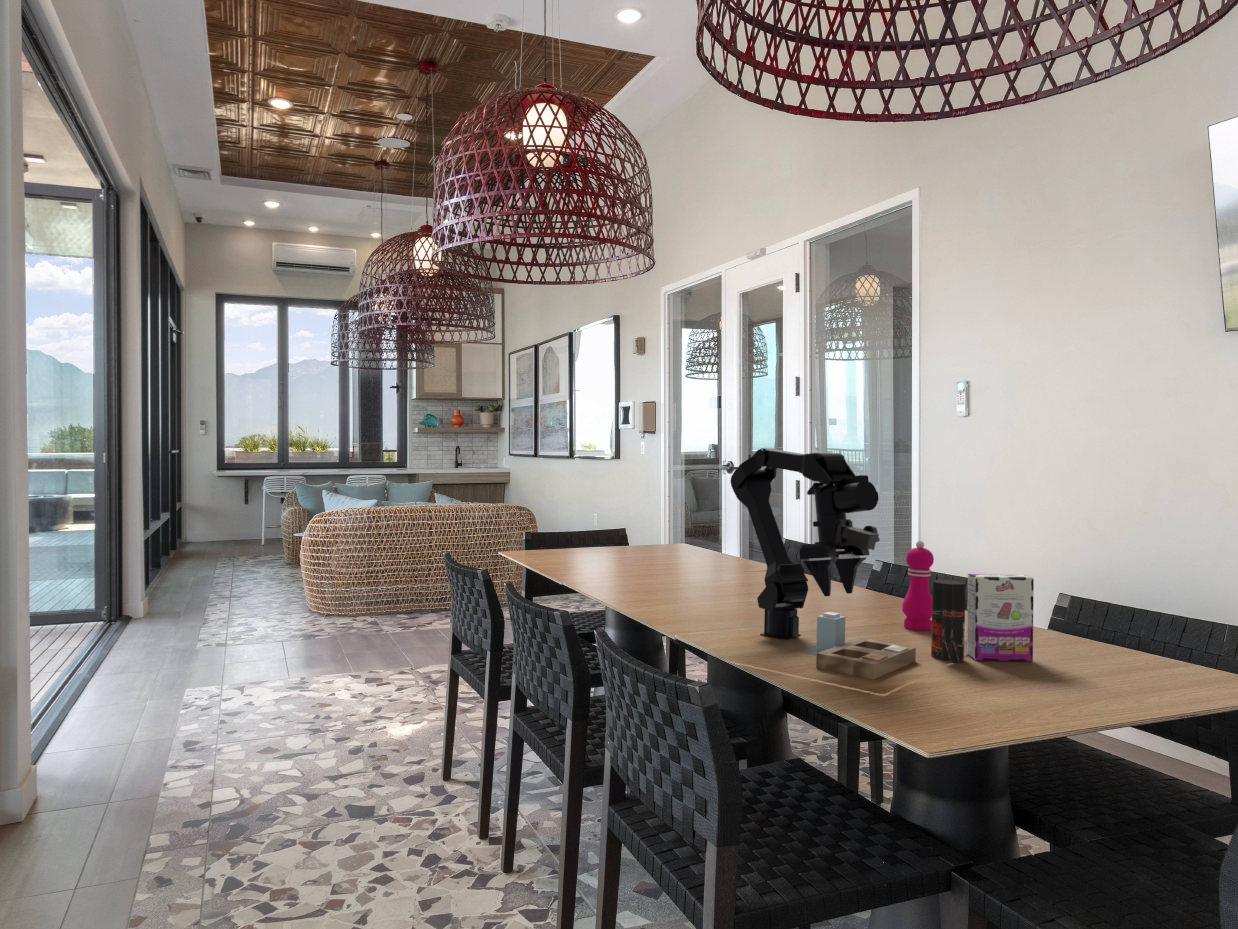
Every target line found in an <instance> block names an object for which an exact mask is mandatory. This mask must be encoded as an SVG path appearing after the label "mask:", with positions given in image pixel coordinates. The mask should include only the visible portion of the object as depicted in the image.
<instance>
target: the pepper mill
mask: <svg viewBox="0 0 1238 929" xmlns="http://www.w3.org/2000/svg"><path fill="white" fill-rule="evenodd" d="M915 545H916V547H913V548H911V549H909V551H907V553H906V556H905V561H906V565H908V566H909V568H907V570H908V573H907V575H908V576H909V587H908V590H907V593H906V595H905V597H904V598H903V602H902V605H901V606H902V607H901V610H902V612H903V614H904V616H905V618H903V627H904V628H905V629H908V630H912V631H913V630H914V631H932V594H931V591H930V585H929V584H930V581H929V580H930V577H931V576H932V573H931V572H932V570H931V567H932V566H933V564H934V560H935V559H934V555H933V553H932V551H930V549H928V548H925V543H924V541H922V540H919V541H917V542H916V543H915Z"/></svg>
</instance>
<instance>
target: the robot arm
mask: <svg viewBox="0 0 1238 929" xmlns="http://www.w3.org/2000/svg"><path fill="white" fill-rule="evenodd" d="M763 467H765V468H764V469H763ZM777 469H781V470H786V471H790V472H791V471H792V472H796V473H800V474H801V475H802V476H803V477H804V478H806V479H808V480H810V481H813V484H812V486H811V487H809V488H808V490H807V491H806V494H807V495H808V496H814V502H815V512H816V514H815V515H816V520H815V521H812V525H813V527H815V528H817V536H818V541H814V543H810V544H809V543H807V544H801V545H800V546H799V548H798V549H797V551H798V560H803V561H802V564H804V565H805V566H806V568H807V569H808V571H809V572H810V574H811V575H812V577H813V579H814V580H815V582H816V584H817V586H818V587H819V589H820V590H821V592H822V595H823V596H824V597H830V596H831V590H832V568H833V566H834V565H835V567H836V570H837V572H838V575H839V578H840V580H841V584H842V586H843V588H844V592H845V593H846V594H853V590H854V585H855V580H856V576H857V571H858V567H859V566H860V565H861V564H862V563H863V562H864V561H866V559H867V556H870V550H871V551H875V547H876V543H878V542H880V540H881V539H880V537H879V535H880V534H879V533H878V529H877V527H876V526H872V525H864V528H858V527H855V526H853V521H852V519H850V518H849V519H848V518H847V514H854V513H859V512H861V513H862V512H868V511H872V510H875V508H876V507H877V505H878V502H879V493H878V491H877V488H876V486H875V485H874V484H873V483H872V482H871V481H869V476H868V475H867V474H864V475H863V474H861V475H856V474H855V473H854V471H853V470H852V469H851V467H850V466H849V464H848V462H846V459H845V455H843V454H842V453H837V452H835V453H834V452H813V453H812V452H811V453H801V452H792V451H788V450H782V449H781V450H780V449H778V448H772V447H769V448H768V447H764V448H763V447H762V448H760V449H757V450H756V451H755V453H754V454H753V455H752V456H750V457H749V458H748V459H745V460H744V461H742V463H740V464H739V465H738V467H737V468H736V469H735V470H734V472H733V473H732V474H731V476H730V485H731V488H732V490H733V491H732V492H734V495H735V497H736V499H737V500H738V501H739V502H740V503H741V504H743V505H744V506H745V507H746V508H747V511H748V513H749V516H750V519H751V522H752V525H753V528H754V531H755V535H756V537H757V540H758V543H759V547H760V549H761V552H762V555H763V558H764V561H765V564H766V572H765V575H764V584H765V588H764V589H763V590H762V591H761V592H760V594H759V595H758V596H757V599H756V600H757V604H758V608H760V609H763V610H764V616H763V617H764V620H763V622H764V626H763V627H764V628H763V632H760V634H759V635H760V636H762V637H767V638H771V639H772V638H773V639H778V640H783V641H789V640H791V639H794V638H797V637H800V636H802V635H801V633H800V630H799V628H800V617H799V616H798V609H804V606H805V604H806V603H805V602H806V598H807V595H808V592H809V585H808V582H809V579H808V578H807V577H806V576H807V575H806V574H805V571H804V567H803V565H802V564H801V563H794V562H793V561H791V559H790V557H789V555H788V552H787V549H786V546H785V542H784V541H783V537H782V535H781V532H780V530H779V526H778V523H777V521H776V517H775V515H774V513H773V512H774V511H773V510H772V506H771V503H770V498H771V494H772V490H773V489H772V486H771V483H772V482H773V481H774V480H775V478H776V477H777ZM862 556H863V557H862ZM864 556H866V557H864ZM832 558H835V559H832Z"/></svg>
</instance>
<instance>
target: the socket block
mask: <svg viewBox="0 0 1238 929" xmlns="http://www.w3.org/2000/svg"><path fill="white" fill-rule="evenodd" d="M916 650H917V648H916V647H914V646H907V645H903V644H898V643H891V642H886V641H880V640H875V639H869V638H857V639H855V640H852V641H849V642H845V644H842V645H839V646H836V647H834V648H831V649H828V650H825V651H822V652H819V653H817V655H815V656H816V657H815V658H816V661H815V662H816V664H815V665H816V666H815V668H817V669H821V670H826V671H829V672H834V673H835V672H836V673H840V674H845V675H850V676H855V677H860V678H864V679H869V680H875V679H878V678H880V677H882V676H884V675H888V674H890V673H892V672H894V671H896V670H899V669H902V668H904V667H906V666H908V665H910V664H913V663H915V662H916V658H917V655H916V654H917V652H916Z"/></svg>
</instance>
